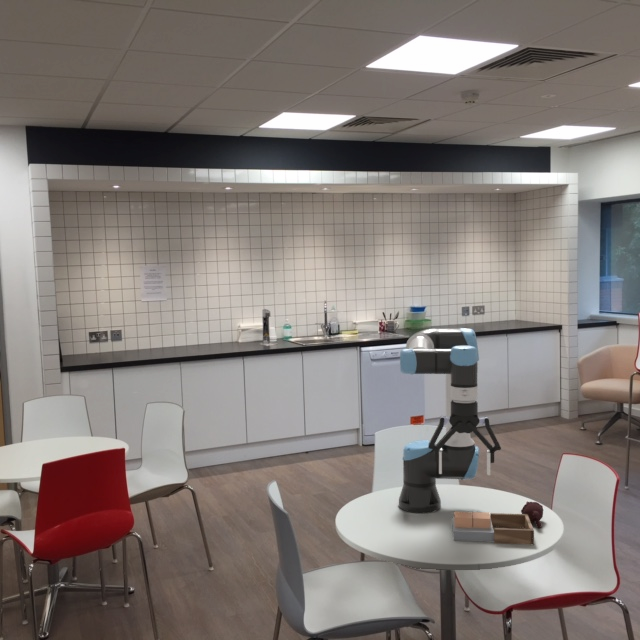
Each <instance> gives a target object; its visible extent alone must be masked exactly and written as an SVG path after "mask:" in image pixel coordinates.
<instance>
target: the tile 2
mask: <svg viewBox="0 0 640 640" xmlns="http://www.w3.org/2000/svg"><path fill="white" fill-rule="evenodd" d="M471 513H472V524H473V528H489V529H491V518H490V512H485V511H484V512H480V511H479V512H478V511H472V512H471Z"/></svg>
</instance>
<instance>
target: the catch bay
mask: <svg viewBox="0 0 640 640" xmlns="http://www.w3.org/2000/svg"><path fill="white" fill-rule="evenodd" d="M489 514H490V518H491V522H492V526H493V530H494V542H493V543H494V544H506V545H507V544H511V545H531V544H533V545H535V529H534V528H533V525H532V522H530V519H529V517H528V514H522V513H504V512H503V513H499V512H489ZM533 545H532V546H533Z"/></svg>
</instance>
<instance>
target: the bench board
mask: <svg viewBox="0 0 640 640" xmlns="http://www.w3.org/2000/svg"><path fill="white" fill-rule="evenodd" d="M451 521H452V535H453V541H460V542H461V541H463V542H485V543H486V542H491V543H492V542H493V543H494V527H493V526H492V522H491V529H489V528H473V524H472V528H460V527H455V523H454V516H453V517H452V519H451Z"/></svg>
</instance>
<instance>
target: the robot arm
mask: <svg viewBox="0 0 640 640" xmlns="http://www.w3.org/2000/svg"><path fill="white" fill-rule="evenodd" d="M399 360H400V361H399V365H400V366H399V367H400V368H399V369H400V372H401V373H402V374H404V375H406V374H407V375H408V374H409V375H445V416H444V415H441V416H439V423H438V425H437V427H436V429H435V431H434V433H433V435H432V437H431V439H430V440H428V439H423V440H416V441H415V440H414V441H412V442H410V443H407V444H405V445H404V447H403V451H402V453H403V454H402V461H403V462H402V466H403V468H402V470H403V472H402V473H403V475H402V476H403V477H402V478H403V485H402V488H401V491H400V494H399V497H398V507H399V508H400V509H401V510H404V511H405V512H410V513H414V514H415V513H416V514H425V513H426V514H427V513H433V512H436V511H438V510H439V509H441V507H442V502H441V501H442V500H441V497H440V494H439V491H438V489H437V482H436V481H437V480H461V481H464V480H473V479H475V478H476V476H477V471H478V467H479V455H480V448H479V447H478V446H477V445H476V442H475V441H474V439H473V438H471V433H472V432H473V434H474V435H475V436H476V437H477V438H478V439H479V440H480V441H481V442H482V444H483V446H485V447H486V448H487V450H486V474H487V476H491V464H494V463H495V452H497V451H501V450H502V446H501V445H500V442H499V441H498V439H497V437H496V435H495V433H494V431H493V428H492V427H491V426H490V419H489V416H484V417H479V416H478V415H479V413H478V410H479V409H478V408H479V406H478V403H479V402H478V401H477V400H478V397H479V393H478V390H479V389H478V369H479V367H478V365H479V363H478V362H479V361H480V357H479V348H478V341H477V336H476V332H475V330H474V329H472V328H468V327H467V328H464V327H446V328H445V327H444V328H443V327H442V328H436V327H435V328H434V327H433V328H432V327H431V328H426V329H421V330H420V331H417V332H415V333H413V334H412V335H410V337H409V338H408V340H407V341H406V345H405V349H401V350H400V356H399ZM480 423H481V425H482V426H485V429H486V430H487V433H488V434H489V437H490V438H491V441H492V442H493V445H492V444H491V442H489V440H488V439H487V438H486V436H485V435H484V434H483V433H482V432H481V431H480V430H479V428H477V426H478V425H479V424H480ZM444 427H445V434H444V435H443V436H442V437H441V439H439V436H440V434H441V433H442V430H443V429H444ZM438 439H439V441H438ZM437 441H438V442H437ZM436 442H437V443H436ZM436 479H437V480H436Z"/></svg>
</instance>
